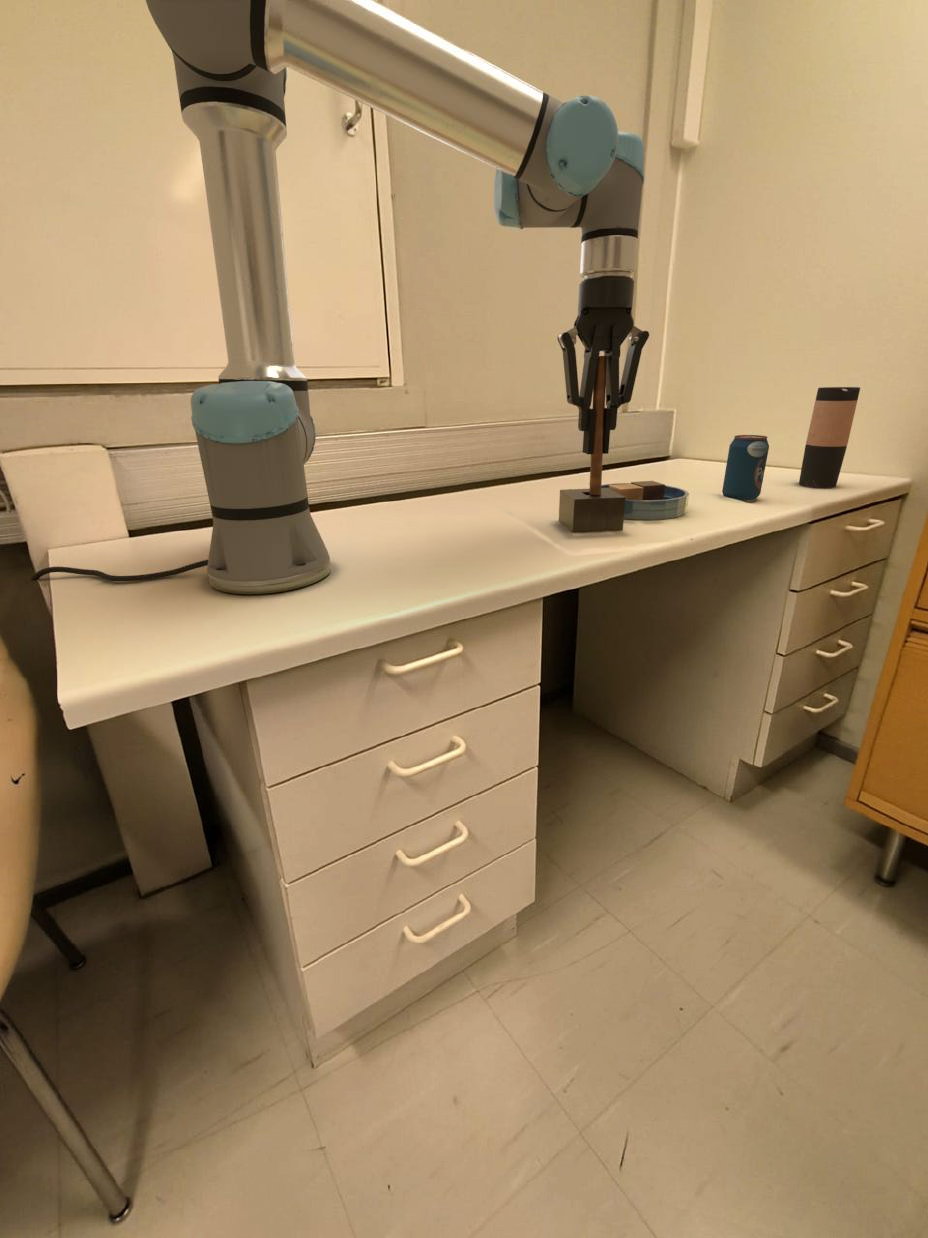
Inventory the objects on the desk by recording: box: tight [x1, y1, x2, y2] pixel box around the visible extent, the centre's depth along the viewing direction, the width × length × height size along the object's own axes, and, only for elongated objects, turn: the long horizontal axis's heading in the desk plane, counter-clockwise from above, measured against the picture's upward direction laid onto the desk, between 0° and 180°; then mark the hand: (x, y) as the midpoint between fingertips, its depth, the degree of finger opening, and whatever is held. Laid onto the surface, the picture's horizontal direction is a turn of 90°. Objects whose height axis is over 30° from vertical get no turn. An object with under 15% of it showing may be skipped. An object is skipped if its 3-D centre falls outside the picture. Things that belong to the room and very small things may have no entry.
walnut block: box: [630, 480, 666, 501], centre depth 103 cm, size 4×4×4 cm
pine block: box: [609, 484, 644, 500], centre depth 101 cm, size 4×4×4 cm
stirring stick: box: [589, 355, 607, 495], centre depth 86 cm, size 2×2×20 cm
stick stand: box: [558, 488, 626, 534], centre depth 91 cm, size 8×8×6 cm
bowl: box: [601, 482, 690, 521], centre depth 102 cm, size 17×17×4 cm
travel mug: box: [798, 386, 861, 489], centre depth 120 cm, size 8×8×20 cm
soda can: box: [721, 434, 770, 503], centre depth 110 cm, size 7×7×12 cm
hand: (595, 452), depth 88 cm, fingers closed on stirring stick, 2 cm apart
